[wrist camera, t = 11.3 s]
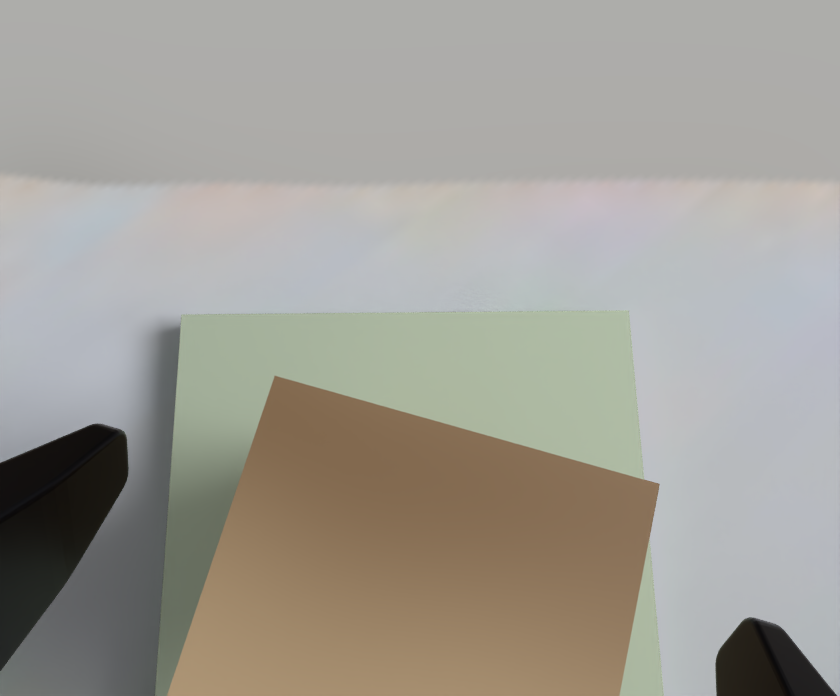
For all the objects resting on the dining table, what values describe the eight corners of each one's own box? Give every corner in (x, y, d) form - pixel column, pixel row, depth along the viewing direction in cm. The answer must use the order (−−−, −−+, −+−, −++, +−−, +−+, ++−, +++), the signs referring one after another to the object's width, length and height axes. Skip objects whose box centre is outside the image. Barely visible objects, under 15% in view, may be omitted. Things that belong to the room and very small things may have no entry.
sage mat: (657, 794, 15) (674, 815, 14) (162, 807, 15) (145, 829, 14) (616, 320, 18) (628, 310, 17) (193, 324, 18) (181, 314, 17)
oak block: (465, 652, 15) (571, 945, 5) (306, 605, 15) (129, 807, 6) (506, 488, 16) (659, 484, 6) (354, 444, 16) (275, 375, 6)
